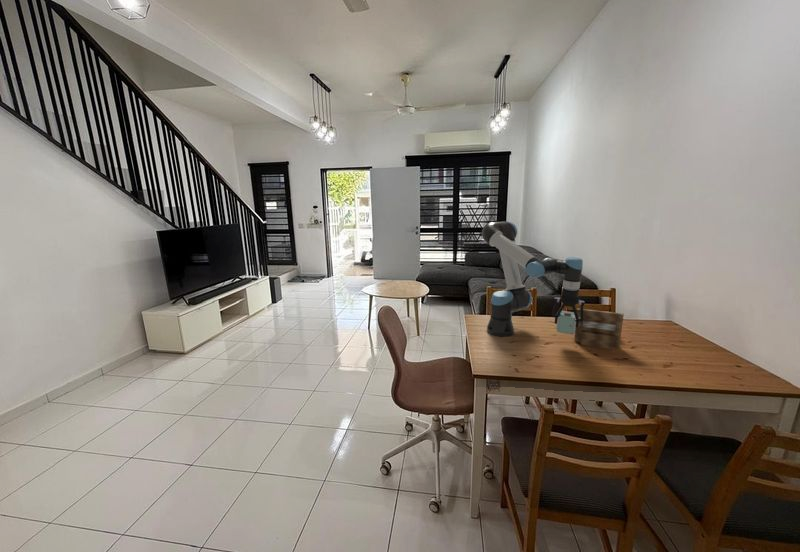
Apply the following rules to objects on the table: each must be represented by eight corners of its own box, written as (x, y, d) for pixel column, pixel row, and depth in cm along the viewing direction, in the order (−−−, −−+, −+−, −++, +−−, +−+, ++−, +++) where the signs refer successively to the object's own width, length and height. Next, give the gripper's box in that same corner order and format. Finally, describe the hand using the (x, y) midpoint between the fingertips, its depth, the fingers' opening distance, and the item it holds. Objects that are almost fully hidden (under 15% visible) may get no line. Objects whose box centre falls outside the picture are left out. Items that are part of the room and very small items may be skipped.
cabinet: (557, 332, 163) (559, 313, 161) (558, 326, 171) (560, 308, 168) (572, 335, 160) (575, 316, 157) (573, 329, 167) (575, 310, 165)
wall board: (574, 343, 167) (577, 311, 163) (574, 337, 174) (577, 306, 170) (619, 350, 158) (624, 316, 154) (618, 344, 165) (622, 311, 161)
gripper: (548, 287, 160) (543, 329, 166) (594, 293, 151) (587, 337, 156) (549, 284, 167) (545, 325, 172) (593, 289, 157) (587, 332, 163)
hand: (565, 330), depth 164 cm, fingers closed on cabinet, 7 cm apart
